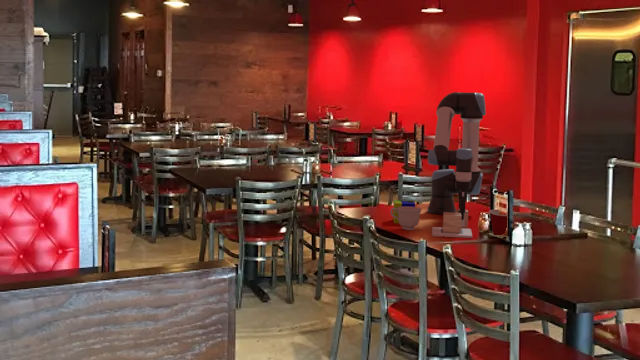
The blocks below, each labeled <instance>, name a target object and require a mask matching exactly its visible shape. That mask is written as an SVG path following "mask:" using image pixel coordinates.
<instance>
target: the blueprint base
mask: <svg viewBox="0 0 640 360" xmlns="http://www.w3.org/2000/svg"><path fill="white" fill-rule="evenodd" d="M431 228H432V229H431V236H432V237H443V236H444V238H445V237H447V238H466V239H467V238H468V239H469V238H470V239H473V233H472V229H471V228H461V233H450V232H443V226H442V227H437V226H432V227H431Z"/></svg>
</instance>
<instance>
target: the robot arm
mask: <svg viewBox="0 0 640 360" xmlns="http://www.w3.org/2000/svg"><path fill="white" fill-rule="evenodd" d="M486 110H487V109H486V99H485V94H483V93H481V92H458V91H454V92H451V93H448V94H447V95H445V96H444V97H443V98H442V99H441V100H440V101H439V103H438V104H437V107H436V116H437V119H436V120H437V121H436V126H435V135H434V141H433V149H429V150H428V152H427V163H428V165H431V166H449V167H451V166H452V167H455V169H453V168H446V169H445V168H444V169H437V170H434V171H433V172H432V175H431V191H430V192H431V193H430V194H431V195H430V196H431V197H430V201H429V204H428V206H427V210H426V211H427V213H429V214H433V215H434V214H435V215H443V214H444V212H448V213H455V209H457V208H456V205H455V202H454V195H458V204H457V205H458V209H459V210H460V211H458V213H461V226H465V210H466V202H467V195H469V196H471V195H475V196H477V195H479V194H480V192H481V188H482V181H483V177H484V174H483V173H482V172H481V168H480V167H479V166H478V164H479V145H480V144H479V143H480V123H481V121H482V120H483V119H484V116H486V115H487V112H486ZM455 115H460V120H462V138H461V140H462V144H461V147H460V148H457V149H456V150H449V148H450V138H451V132H452V123H453V118H454V117H455Z"/></svg>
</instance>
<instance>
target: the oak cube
mask: <svg viewBox="0 0 640 360" xmlns="http://www.w3.org/2000/svg"><path fill="white" fill-rule="evenodd" d="M442 215H443V216H442V227H443V232H450V233H461V213H448V212H444V214H442Z"/></svg>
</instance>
